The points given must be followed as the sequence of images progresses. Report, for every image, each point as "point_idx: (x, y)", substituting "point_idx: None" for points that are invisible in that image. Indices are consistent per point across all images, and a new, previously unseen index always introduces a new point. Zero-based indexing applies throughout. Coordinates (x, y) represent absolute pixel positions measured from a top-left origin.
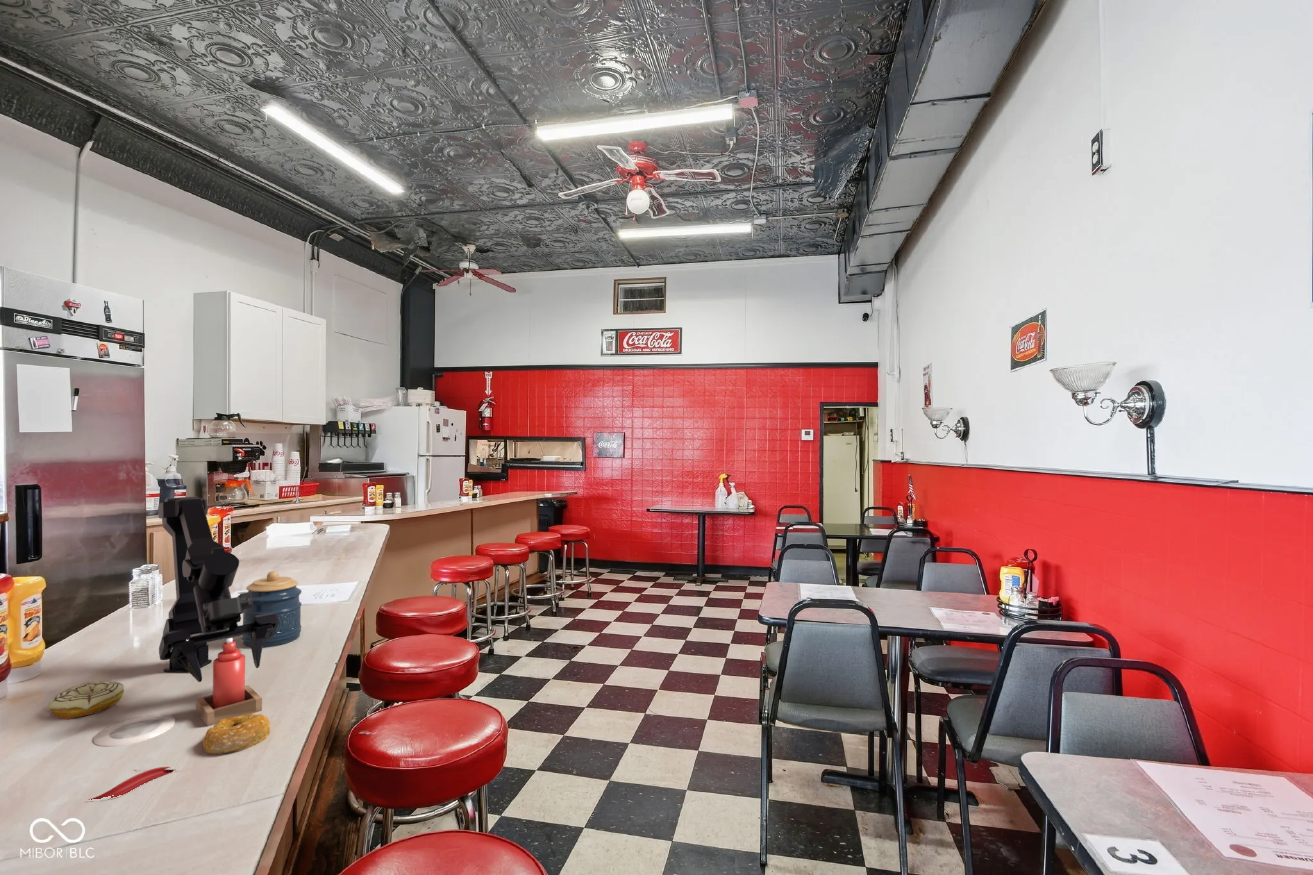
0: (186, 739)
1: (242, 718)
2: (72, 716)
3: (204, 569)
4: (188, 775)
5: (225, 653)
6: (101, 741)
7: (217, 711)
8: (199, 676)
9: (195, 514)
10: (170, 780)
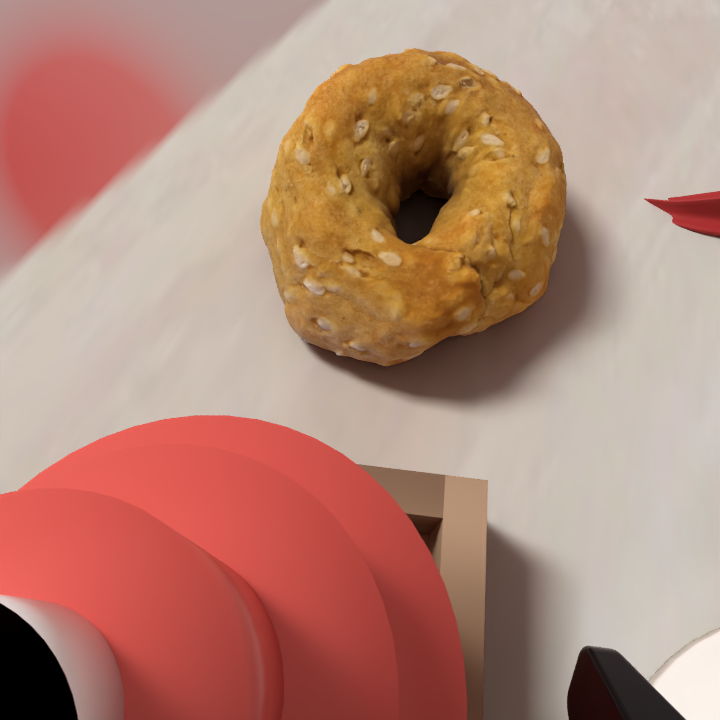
0: (580, 468)
1: (371, 221)
2: None
3: None
4: (625, 135)
5: (266, 599)
6: None
7: (423, 475)
8: (630, 668)
9: None
10: (681, 147)
